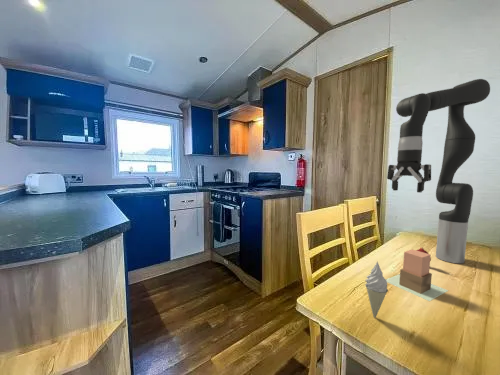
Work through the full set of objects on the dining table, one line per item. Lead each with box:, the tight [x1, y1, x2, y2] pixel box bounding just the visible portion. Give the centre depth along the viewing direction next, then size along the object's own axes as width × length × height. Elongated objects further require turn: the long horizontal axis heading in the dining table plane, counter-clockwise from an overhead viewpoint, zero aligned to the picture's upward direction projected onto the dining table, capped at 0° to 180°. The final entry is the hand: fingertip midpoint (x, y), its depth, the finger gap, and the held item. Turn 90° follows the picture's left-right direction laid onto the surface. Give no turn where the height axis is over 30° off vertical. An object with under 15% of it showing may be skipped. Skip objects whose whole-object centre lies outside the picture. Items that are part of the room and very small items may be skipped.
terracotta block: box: [402, 249, 431, 277], centre depth 69 cm, size 5×5×6 cm
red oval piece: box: [415, 246, 432, 262], centre depth 87 cm, size 6×6×8 cm
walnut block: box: [399, 268, 433, 294], centre depth 69 cm, size 6×6×5 cm
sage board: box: [385, 273, 449, 302], centre depth 70 cm, size 12×13×1 cm
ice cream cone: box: [364, 261, 389, 319], centre depth 56 cm, size 5×5×15 cm
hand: (406, 191), depth 85 cm, fingers open, 8 cm apart
